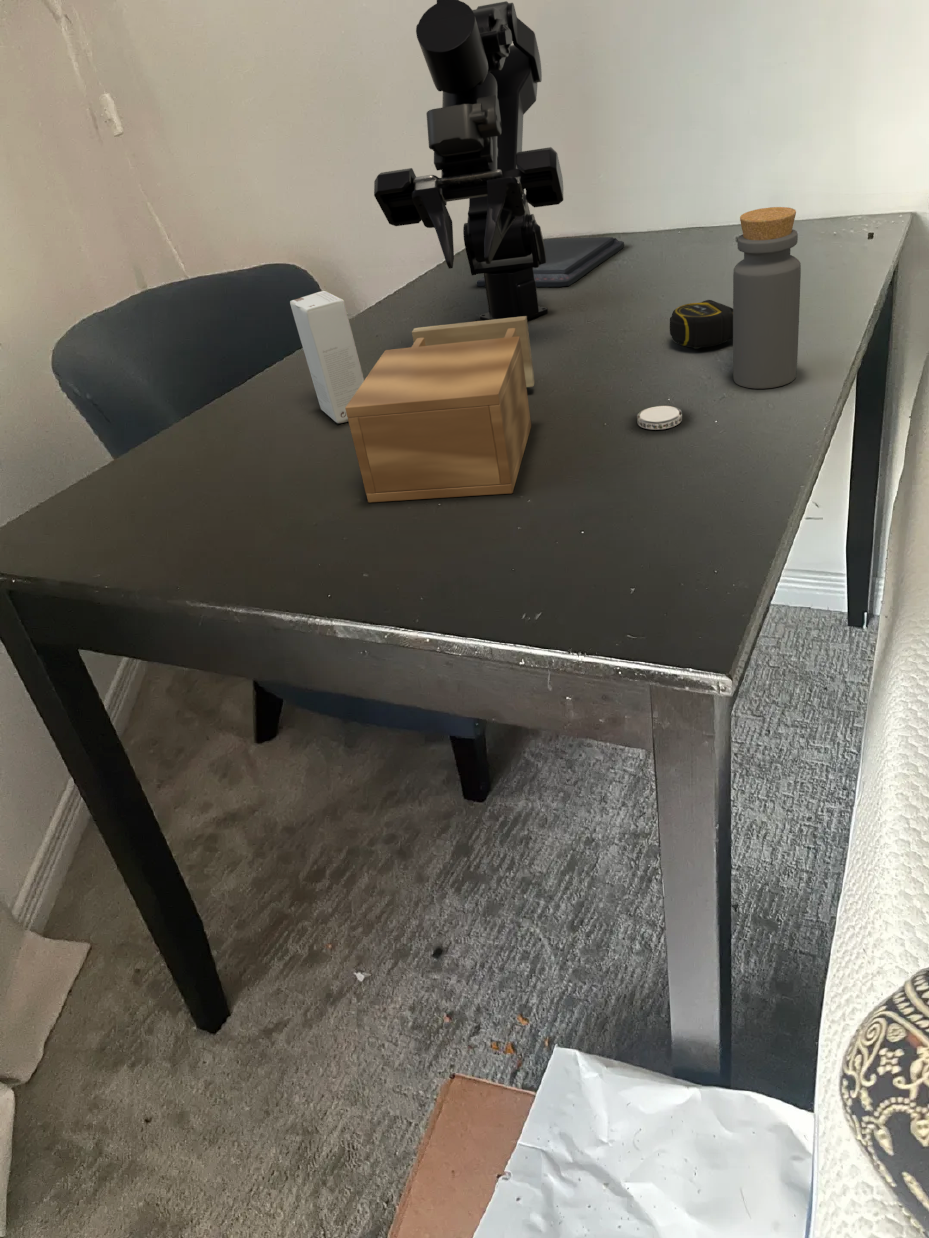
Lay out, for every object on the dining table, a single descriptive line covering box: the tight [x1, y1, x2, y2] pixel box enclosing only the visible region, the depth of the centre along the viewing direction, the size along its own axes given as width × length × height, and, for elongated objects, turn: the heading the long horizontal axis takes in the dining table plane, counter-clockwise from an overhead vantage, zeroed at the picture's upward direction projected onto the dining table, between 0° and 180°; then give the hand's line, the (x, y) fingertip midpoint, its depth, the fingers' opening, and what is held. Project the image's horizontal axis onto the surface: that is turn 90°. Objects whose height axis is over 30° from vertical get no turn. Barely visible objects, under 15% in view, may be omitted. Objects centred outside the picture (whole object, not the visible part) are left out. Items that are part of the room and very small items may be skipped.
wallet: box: [476, 236, 625, 288], centre depth 137 cm, size 20×2×15 cm
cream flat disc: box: [636, 405, 683, 430], centre depth 86 cm, size 4×4×1 cm
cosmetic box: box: [289, 290, 365, 424], centre depth 98 cm, size 6×4×12 cm
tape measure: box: [669, 299, 733, 350], centre depth 100 cm, size 7×7×4 cm
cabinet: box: [345, 336, 532, 504], centre depth 83 cm, size 14×13×9 cm
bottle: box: [732, 206, 802, 390], centre depth 86 cm, size 6×6×15 cm
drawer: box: [411, 316, 535, 388], centre depth 93 cm, size 16×12×7 cm
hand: (468, 264), depth 94 cm, fingers open, 4 cm apart
